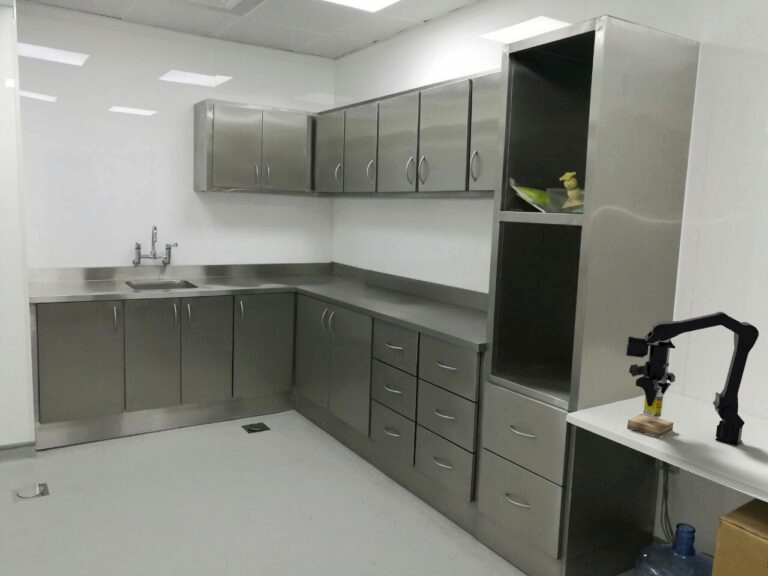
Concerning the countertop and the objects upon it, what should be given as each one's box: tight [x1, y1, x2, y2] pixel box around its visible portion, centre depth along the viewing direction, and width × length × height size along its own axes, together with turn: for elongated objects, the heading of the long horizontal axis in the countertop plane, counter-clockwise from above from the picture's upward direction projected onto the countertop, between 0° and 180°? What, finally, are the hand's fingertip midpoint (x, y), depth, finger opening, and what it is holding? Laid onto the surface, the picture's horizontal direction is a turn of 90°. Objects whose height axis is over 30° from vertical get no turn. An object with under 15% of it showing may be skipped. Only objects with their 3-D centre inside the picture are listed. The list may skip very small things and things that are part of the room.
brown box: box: [626, 413, 674, 438], centre depth 215 cm, size 11×11×3 cm
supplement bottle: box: [642, 386, 664, 419], centre depth 214 cm, size 6×6×10 cm
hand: (653, 404), depth 214 cm, fingers closed on supplement bottle, 6 cm apart
